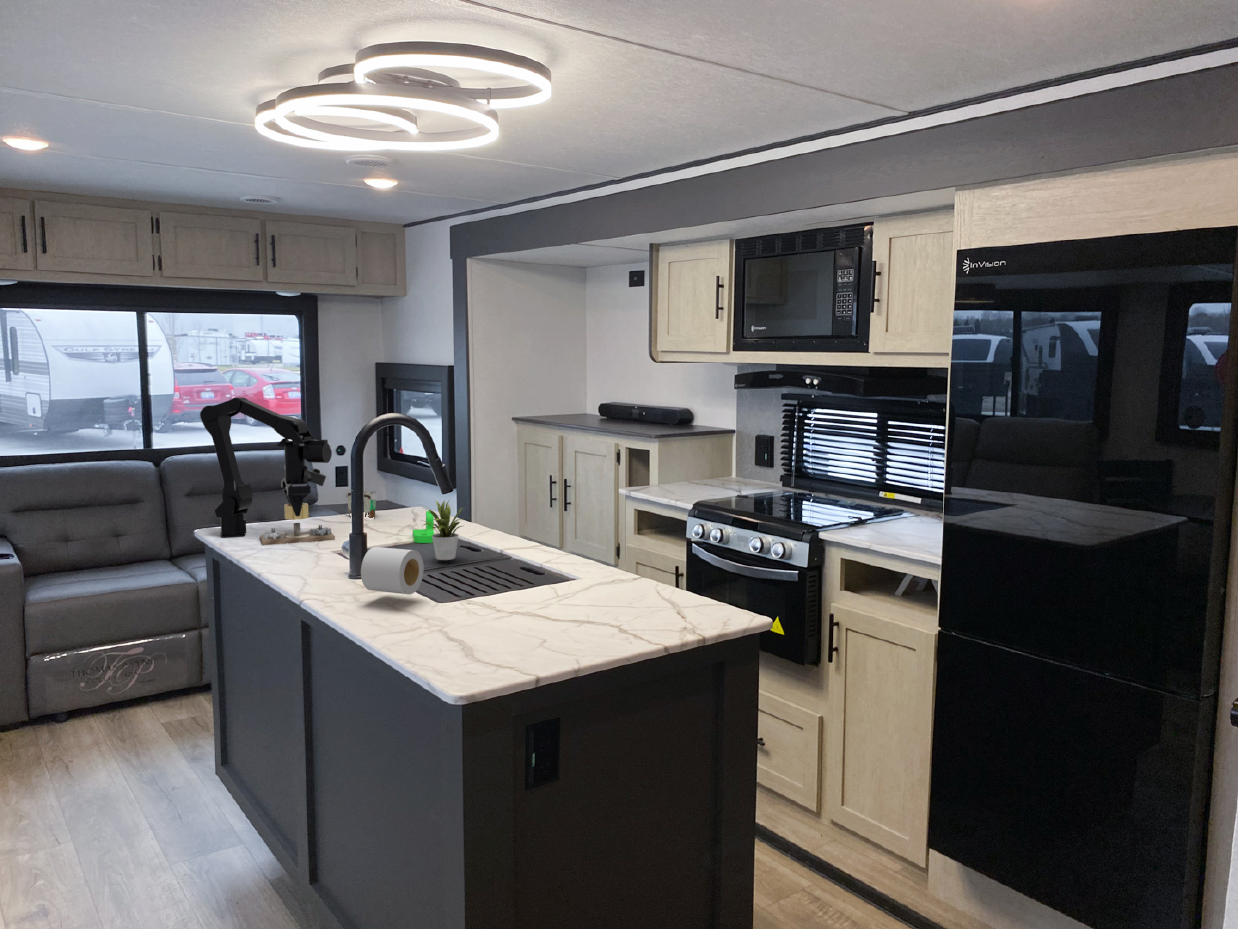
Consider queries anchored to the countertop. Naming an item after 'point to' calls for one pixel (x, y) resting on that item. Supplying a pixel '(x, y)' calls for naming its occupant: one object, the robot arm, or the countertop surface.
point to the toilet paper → (392, 570)
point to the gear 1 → (273, 534)
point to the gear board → (296, 537)
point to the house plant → (444, 533)
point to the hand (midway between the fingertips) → (296, 514)
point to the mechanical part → (425, 531)
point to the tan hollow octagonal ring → (291, 515)
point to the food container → (365, 502)
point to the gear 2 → (320, 531)
